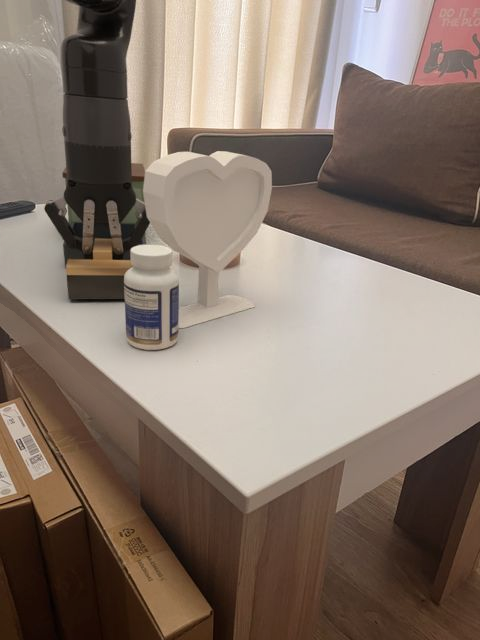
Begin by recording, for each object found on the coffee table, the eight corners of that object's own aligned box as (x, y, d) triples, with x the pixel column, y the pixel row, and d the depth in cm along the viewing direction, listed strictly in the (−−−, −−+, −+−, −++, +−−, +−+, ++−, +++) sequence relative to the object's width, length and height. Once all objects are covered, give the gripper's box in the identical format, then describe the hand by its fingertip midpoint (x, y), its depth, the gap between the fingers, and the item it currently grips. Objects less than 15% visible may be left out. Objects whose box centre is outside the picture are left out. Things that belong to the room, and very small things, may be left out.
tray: (65, 268, 73) (63, 244, 72) (72, 243, 84) (70, 221, 83) (147, 269, 76) (146, 245, 74) (143, 244, 87) (143, 223, 86)
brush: (73, 274, 70) (71, 237, 68) (135, 275, 72) (134, 239, 70) (68, 299, 62) (65, 258, 60) (137, 299, 64) (137, 259, 62)
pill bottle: (160, 325, 58) (159, 239, 54) (188, 343, 55) (190, 252, 51) (116, 337, 55) (112, 246, 51) (143, 356, 52) (141, 260, 47)
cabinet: (68, 242, 85) (62, 172, 80) (74, 220, 97) (69, 159, 93) (147, 243, 88) (146, 176, 83) (143, 222, 101) (142, 163, 96)
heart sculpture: (167, 332, 57) (168, 158, 49) (141, 317, 60) (137, 151, 52) (266, 303, 67) (279, 155, 60) (239, 291, 70) (248, 149, 63)
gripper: (156, 140, 66) (156, 271, 74) (38, 131, 63) (51, 270, 71) (160, 146, 60) (160, 289, 68) (29, 137, 56) (44, 289, 64)
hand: (104, 279), depth 69 cm, fingers closed on brush
